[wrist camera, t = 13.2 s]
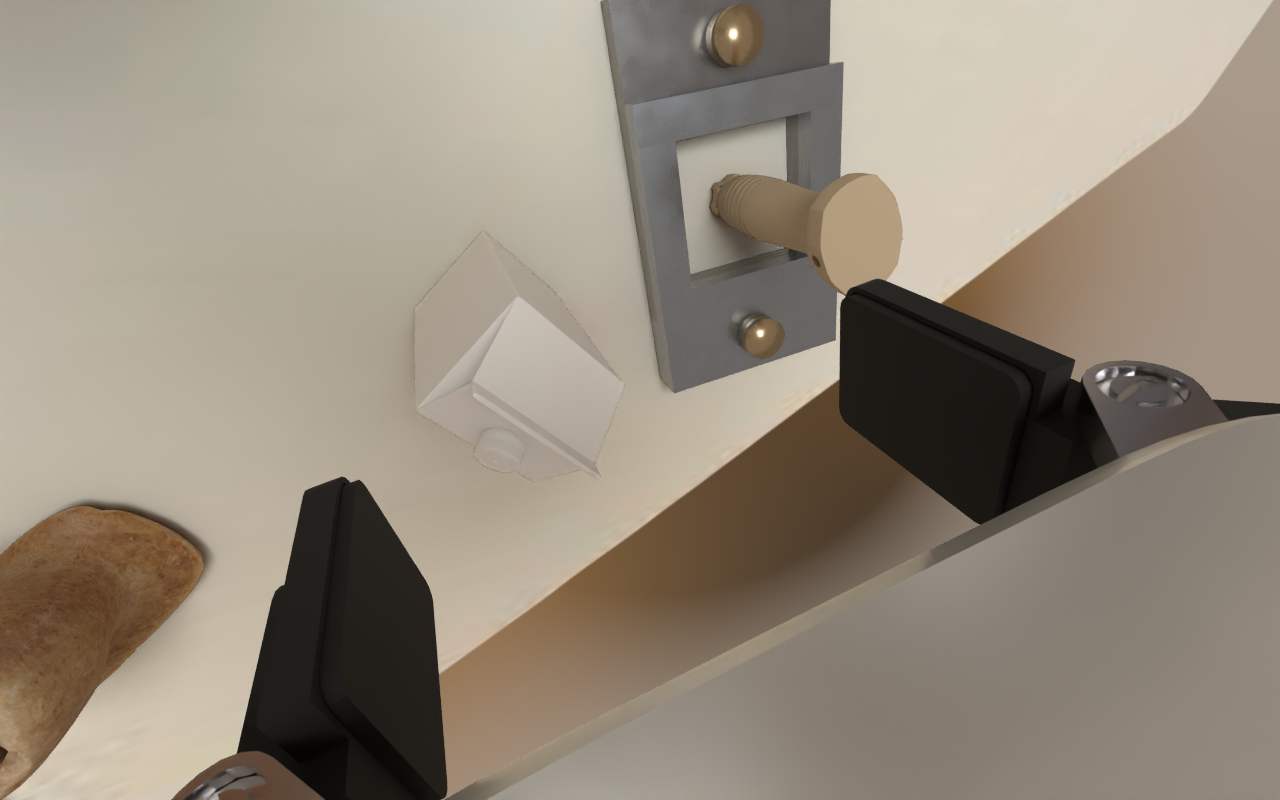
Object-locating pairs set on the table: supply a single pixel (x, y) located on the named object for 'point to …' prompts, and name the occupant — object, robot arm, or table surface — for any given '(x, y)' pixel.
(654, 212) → the upper end link
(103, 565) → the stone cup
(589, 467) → the milk carton
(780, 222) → the handle
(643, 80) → the lower end link
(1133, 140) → the table surface
